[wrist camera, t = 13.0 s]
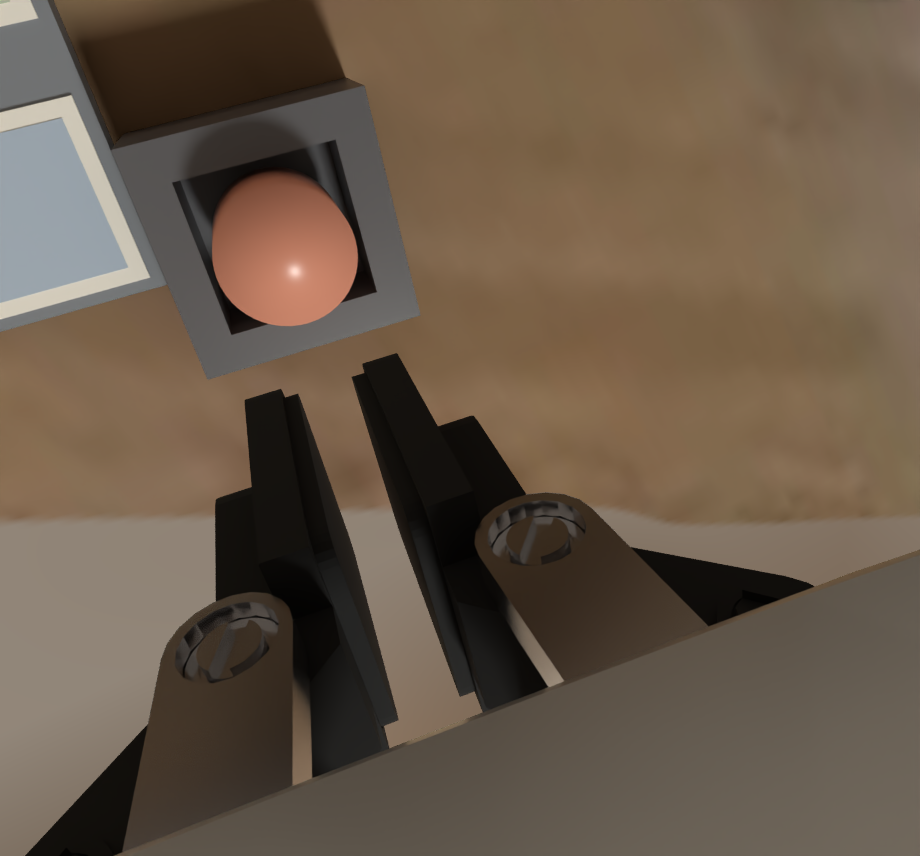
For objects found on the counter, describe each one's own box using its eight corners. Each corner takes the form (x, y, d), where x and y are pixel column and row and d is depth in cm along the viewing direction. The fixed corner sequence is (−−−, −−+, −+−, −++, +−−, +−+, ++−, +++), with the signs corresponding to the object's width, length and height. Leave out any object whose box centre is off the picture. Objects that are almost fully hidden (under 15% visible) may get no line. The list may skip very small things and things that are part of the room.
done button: (322, 151, 23) (335, 168, 21) (357, 275, 25) (373, 303, 23) (191, 186, 23) (189, 207, 20) (238, 309, 25) (241, 343, 22)
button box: (346, 77, 25) (364, 85, 22) (398, 284, 28) (420, 315, 25) (123, 133, 24) (110, 149, 21) (208, 340, 27) (207, 379, 24)
